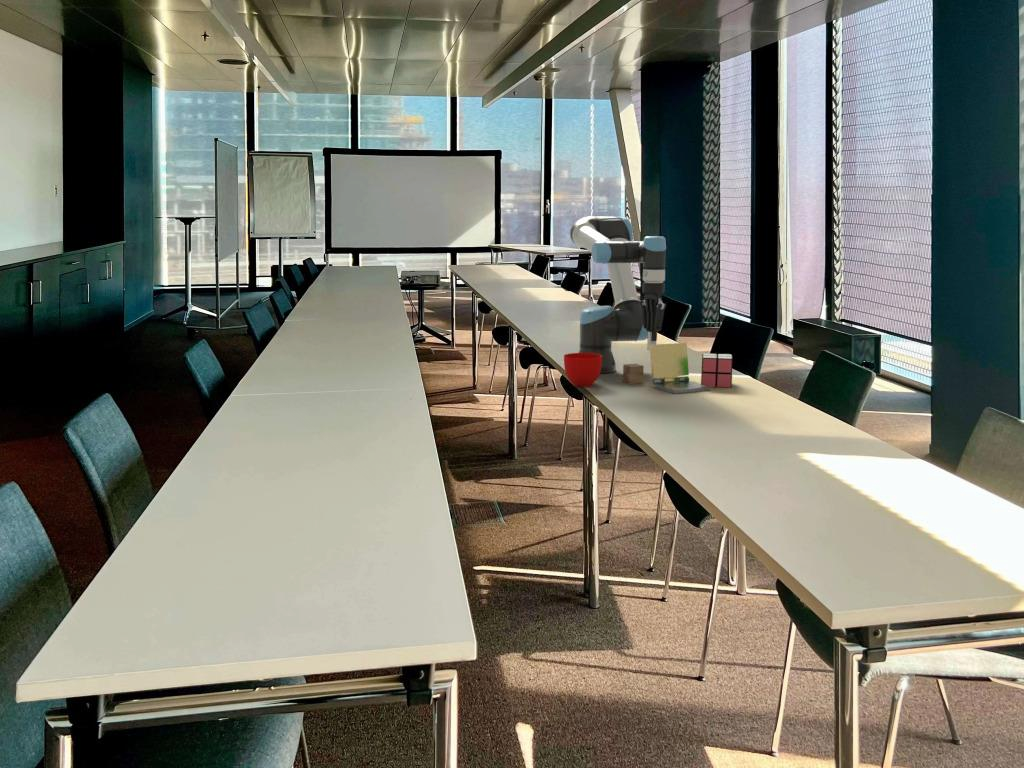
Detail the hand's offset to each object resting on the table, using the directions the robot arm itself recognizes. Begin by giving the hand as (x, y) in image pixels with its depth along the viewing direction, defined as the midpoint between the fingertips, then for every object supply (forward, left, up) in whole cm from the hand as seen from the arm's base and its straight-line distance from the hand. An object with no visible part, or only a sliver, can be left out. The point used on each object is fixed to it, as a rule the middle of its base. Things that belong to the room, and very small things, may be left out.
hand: (651, 350), depth 333 cm
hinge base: (+18, 0, -11) cm, 21 cm away
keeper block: (+1, -8, -11) cm, 13 cm away
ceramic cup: (-3, -25, -11) cm, 27 cm away
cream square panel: (+12, 0, -3) cm, 12 cm away
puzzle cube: (+17, +15, -11) cm, 25 cm away
